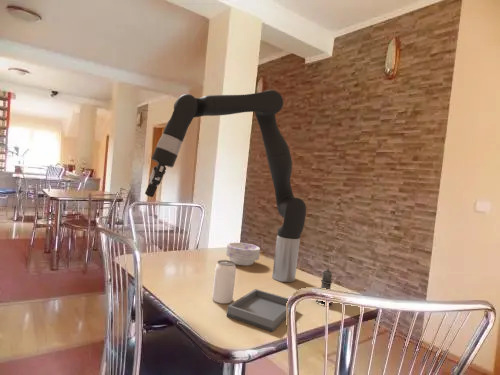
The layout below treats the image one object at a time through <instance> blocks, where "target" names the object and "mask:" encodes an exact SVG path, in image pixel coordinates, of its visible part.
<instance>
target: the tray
mask: <svg viewBox="0 0 500 375" xmlns="http://www.w3.org/2000/svg"><path fill="white" fill-rule="evenodd" d="M288 299H289V298H288V297H286V296H285V297H284V296H281V295H279V294H274V293H270V292H267V291H264V290H260V289H257V288H255V289H253V290H252V291H250V292H248V293H246V294H245V295H243V296H242V297H240V298H239V299H237V300H235V301H232V302H231V303H229V304H228V305H227V309H226V317H228V318H230V319H234V320H236V321H239V322H242V323H245V324H247V325H250V326H252V327H256V328H259V329H263V330H265V331H267V332H270V333H271V332H272V333H273V332H274V331H275V330H276V329H277V328H278V327H279V326H280V325H281V324H282V323H283V322H284V321H285V320H286V319H287V318H286V303H287V301H288Z"/></svg>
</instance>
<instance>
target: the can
mask: <svg viewBox="0 0 500 375" xmlns="http://www.w3.org/2000/svg"><path fill="white" fill-rule="evenodd" d="M236 273H237V267H236V264H235V263H234V262H232V261H231V260H227V259H220V260H218V261H217V263H216V265H215V270H214V275H213V276H214V278H213V284H212V285H213V287H212V297H211V299H212V301H213V302H215V303H217V304H220V305H227V304H228V305H229V304H231V303H232V302H233V297H234V291H235V289H234V288H235V280H236Z"/></svg>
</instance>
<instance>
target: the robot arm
mask: <svg viewBox="0 0 500 375" xmlns="http://www.w3.org/2000/svg"><path fill="white" fill-rule="evenodd" d="M283 107H284V98H283V96H282V95H281V93H280V92H278V91H277V90H274V89H268V90H264V91H261V92H256V93H247V94H208V95H203V96H202V97H195V96H193V95H192V94H189V93H186V94H182V95H180V96H179V97H178V98H177V100H175V102H174V104H173V112H172V114H171V117H170V119H169V120H168V121H167V123H166V125H165V127H164V130H163V132H162V134H161V136H160V138H159V140H158V141H157V144H156V146H155V149H154V152H153V154H152V156H151V161H154V162H155V163H157V165H155V166H153V167H152V171H151V174H150V176H149V181H148V185H147V187H146V190H145V193H144V194H145V195H146V196H147V197H150V198H154V196H155V193H156V191H157V188H158V187H159V186H160V184H161V183H162V180H163V178H164V176H165V175H166V172H167V171H166V170H167V167H168V168H172V169H173V167H174V165H175V163H176V161H177V159H178V156H179V153H180V151H181V149H182V144H183V142H184V139H185V137H186V134H187V131H188V128H189V127H190V125H191V123H192V122H193V119H194V118H200V117H207V116H209V117H213V116H214V117H215V116H227V115H237V114H242V113H243V114H244V113H254V114H255V118H256V120H257V123H258V126H259V129H260V133H261V137H262V141H263V145H264V146H263V147H264V149H265V150H264V151H265V155H266V159H267V163H268V166H269V167H268V168H269V171H270V175H271V179H272V180H271V181H272V183H273V188H274V194H275V201H276V208H277V209H276V210H277V212H278V214H279V215H280V216H281V217H282V218H283V223H282V226H281V227H278V229H277V234H276V242H275V251H274V260H273V269H272V275H271V276H272V278H273V280H275V281H278V282H283V283H292V282H295V281H296V276H297V275H296V274H297V268H298V267H297V265H298V258H299V251H300V250H299V249H300V241H301V235H302V233H303V231H304V227H305V220H306V215H307V206H306V203H305V202H304V200H303V199H301V198H299V197H295V196H294V194H293V190H292V185H291V177H292V172H293V171H292V170H293V161H292V160H293V159H292V155H291V151H290V148H289V144H288V143H287V141H286V139H285V137H284V136H283V135H282V133H281V131H280V129H279V127H278V124H277V119H276V115H277V114H278V113H279V112H281V110H282V109H283Z"/></svg>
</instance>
